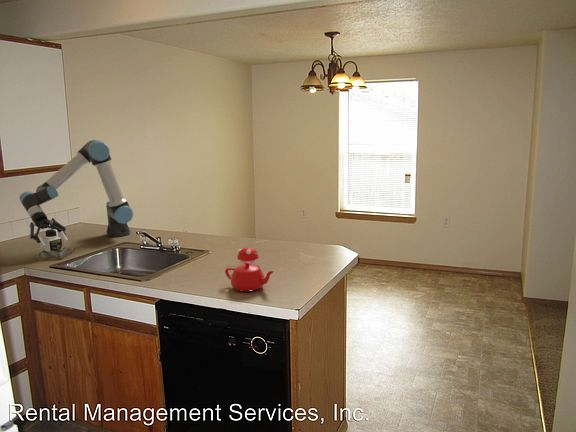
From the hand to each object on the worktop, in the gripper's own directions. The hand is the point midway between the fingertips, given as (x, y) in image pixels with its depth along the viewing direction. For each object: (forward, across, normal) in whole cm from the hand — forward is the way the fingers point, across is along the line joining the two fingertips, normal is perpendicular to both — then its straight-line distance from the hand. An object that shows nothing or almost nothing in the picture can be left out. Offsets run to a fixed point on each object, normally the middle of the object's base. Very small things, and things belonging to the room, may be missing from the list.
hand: (55, 243), depth 266 cm
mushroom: (+82, -37, +71) cm, 115 cm away
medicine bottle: (+1, 0, -5) cm, 5 cm away
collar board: (+4, 0, -7) cm, 8 cm away
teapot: (+94, -17, +83) cm, 126 cm away
